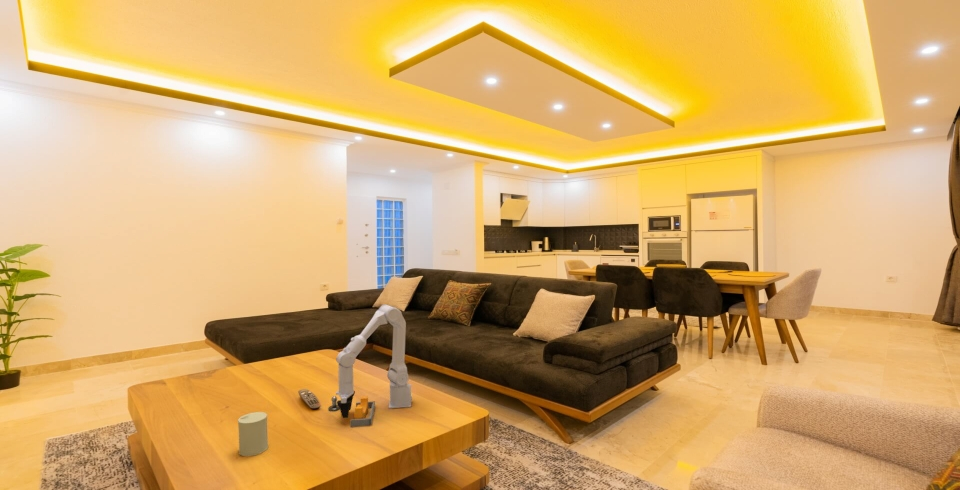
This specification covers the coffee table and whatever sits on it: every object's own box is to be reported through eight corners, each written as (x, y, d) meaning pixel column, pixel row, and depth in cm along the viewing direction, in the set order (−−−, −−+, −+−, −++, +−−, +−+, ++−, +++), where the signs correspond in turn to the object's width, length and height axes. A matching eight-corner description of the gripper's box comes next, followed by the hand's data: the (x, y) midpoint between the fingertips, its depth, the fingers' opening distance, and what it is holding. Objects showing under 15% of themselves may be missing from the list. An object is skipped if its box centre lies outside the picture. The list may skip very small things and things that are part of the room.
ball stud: (341, 406, 190) (341, 393, 190) (339, 411, 185) (339, 398, 185) (329, 407, 189) (329, 394, 189) (327, 411, 184) (327, 399, 184)
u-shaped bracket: (375, 407, 188) (374, 401, 188) (371, 425, 171) (371, 418, 171) (356, 408, 187) (356, 402, 187) (350, 427, 170) (350, 420, 170)
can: (246, 443, 157) (245, 411, 157) (272, 442, 158) (271, 409, 158) (233, 457, 148) (232, 422, 148) (262, 455, 149) (260, 421, 148)
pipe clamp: (357, 412, 184) (357, 397, 184) (368, 411, 184) (367, 396, 184) (350, 424, 172) (350, 408, 172) (361, 424, 172) (361, 408, 172)
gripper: (338, 375, 184) (339, 407, 185) (332, 387, 170) (333, 422, 170) (355, 374, 185) (356, 406, 186) (351, 386, 171) (351, 420, 171)
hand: (346, 413), depth 178 cm, fingers open, 7 cm apart
